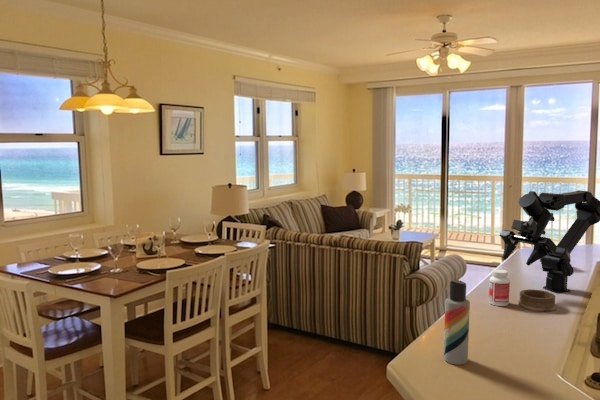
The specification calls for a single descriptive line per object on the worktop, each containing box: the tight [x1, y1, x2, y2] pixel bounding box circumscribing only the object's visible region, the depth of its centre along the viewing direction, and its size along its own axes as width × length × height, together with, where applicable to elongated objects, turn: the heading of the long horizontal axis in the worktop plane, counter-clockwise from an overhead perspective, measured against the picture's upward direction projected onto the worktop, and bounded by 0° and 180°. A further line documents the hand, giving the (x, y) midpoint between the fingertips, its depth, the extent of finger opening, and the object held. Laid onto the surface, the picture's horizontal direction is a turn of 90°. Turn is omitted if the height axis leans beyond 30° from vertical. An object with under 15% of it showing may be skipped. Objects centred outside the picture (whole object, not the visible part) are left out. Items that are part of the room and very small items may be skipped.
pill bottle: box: [488, 269, 511, 307], centre depth 163 cm, size 6×6×11 cm
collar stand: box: [517, 289, 557, 313], centre depth 161 cm, size 11×11×4 cm
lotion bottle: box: [443, 279, 471, 366], centre depth 121 cm, size 6×6×20 cm
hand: (515, 261), depth 167 cm, fingers open, 9 cm apart
